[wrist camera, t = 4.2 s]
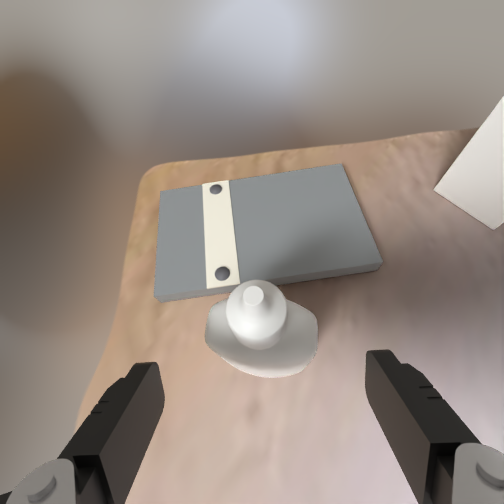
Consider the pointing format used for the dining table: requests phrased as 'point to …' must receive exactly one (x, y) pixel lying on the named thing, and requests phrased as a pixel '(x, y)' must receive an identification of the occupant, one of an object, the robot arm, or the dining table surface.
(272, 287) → the eye dropper bottle
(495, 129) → the milk
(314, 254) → the floor panel
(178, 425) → the dining table surface
